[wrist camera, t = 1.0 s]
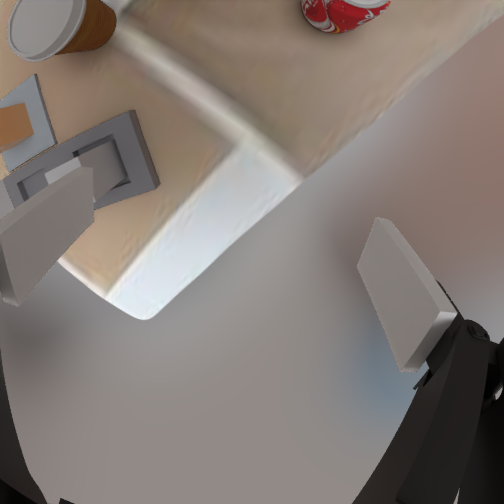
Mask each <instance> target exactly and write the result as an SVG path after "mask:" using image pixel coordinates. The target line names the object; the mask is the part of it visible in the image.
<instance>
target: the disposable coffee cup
mask: <svg viewBox="0 0 504 504" xmlns="http://www.w3.org/2000/svg"><path fill="white" fill-rule="evenodd" d="M115 27H116V16H115V13H114V11H113V10H112V9H111V8H110V7H108V6H107V5H106V4H105V3H103V2H102V1H101V0H18V1H17V2H16V4H15V6H14V8H13V10H12V12H11V15H10V17H9V21H8V26H7V39H8V44H9V46H10V48H11V50H12V51H13V52H14V53H15V54H16V55H18V56H19V57H21V58H22V59H23V60H26V61H29V62H37V61H42V60H45V59H47V58H49V57H51V56H53V55H59V54H65V53H71V52H78V51H86V50H93V49H96V48H99V47H100V46H102V45H103V44H105V43H106V42H107V41H108V40H109V39H110V37H111V36H112V34H113V32H114V30H115Z"/></svg>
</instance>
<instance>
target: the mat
mask: <svg viewBox="0 0 504 504" xmlns="http://www.w3.org/2000/svg"><path fill="white" fill-rule="evenodd" d="M21 103H25V105H26V109H27V112H28V116H29V119H30V122H31V125H32V128H33V131H34V134H32V135H31V136H29V137H28V138H26V139H25V140H23V141H22V142H21V143H19V144H18V145H16V146H15V147H13V148H11V149H9V150H6V151H4V152H2V155H3V158H4V161H5V164H6V166H7V169H8V172H11V171H12V170H14V169H15V168H17V167H18V166H20V165H21V164H23V163H25V162H26V161H28V160H29V159H31V158H33V157H34V156H36V155H38V154H39V153H41V152H43V151H44V150H46V149H48V148H49V147H51V146H53V145H55V144H57V140H56V138H55V135H54V132H53V129H52V126H51V123H50V119H49V116H48V113H47V110H46V107H45V103H44V100H43V96H42V93H41V89H40V86H39V82H38V78H37V74H34V75H32V76H31V77H29V78H28V79H27V80H25V81H24V82H23V83H21V84H20V85H19V86H18V87H16V88H15V89H14V90H13V91H11V92H10V93H9V94H8V95H6V96H5V97H4V98H3V99H2V100H0V108H4V107H8V106H12V105H16V104H21Z"/></svg>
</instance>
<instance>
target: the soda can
mask: <svg viewBox="0 0 504 504" xmlns="http://www.w3.org/2000/svg"><path fill="white" fill-rule="evenodd" d="M390 2H391V0H302V1H301V7H302V11H303V13H304V16H305V17H306V19H307V20H308V21H309V22H310V23H311V24H312V25H313V26H315V27H316V28H318V29H320V30H322V31H325V32H329V33H342V32H347V31H350V30H353V29H355V28H357V27H359V26H361V25H362V24H364V23H366V22H368V21H370V20H372V19H374V18H375V17H377V16H378V15H380V14H381V13H383V12H384V11H385V10H386V9H387V7H388V6H389V4H390Z"/></svg>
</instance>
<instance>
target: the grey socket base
mask: <svg viewBox="0 0 504 504" xmlns="http://www.w3.org/2000/svg"><path fill="white" fill-rule="evenodd" d="M78 167H90V168H93V205H94V210H96V209H99V208H101V207H104V206H107V205H110V204H113V203H115V202H118V201H121V200H124V199H127V198H130V197H133V196H136V195H139V194H142V193H145V192H148V191H151V190H155V189H156V188H157V187H158V186H159V185H160V182H159V179H158V176H157V174H156V171H155V168H154V165H153V162H152V160H151V157H150V154H149V151H148V148H147V145H146V143H145V140H144V137H143V134H142V131H141V128H140V125H139V122H138V119H137V116H136V113H135V110H132V111H128V112H126V113H123V114H121V115H119V116H117V117H114V118H112V119H110V120H108V121H106V122H103V123H101V124H99V125H97V126H95V127H93V128H91V129H89V130H87V131H85V132H83V133H81V134H79V135H77V136H75V137H73V138H71V139H69V140H67V141H65V142H64V143H62V144H60V145H58V146H56V147H55V148H53V149H51V150H49V151H47V152H46V153H44V154H42V155H41V156H39V157H37V158H36V159H34V160H32V161H31V162H29V163H27V164H26V165H24V166H23V167H21V168H19V169H18V170H16V171H15V172H13V173H12V174H10V175H9V176H7V177H6V178H4V179H3V182H4V184H5V187H6V189H7V192H8V194H9V197H10V199H11V201H12V204H13V206H14V208H16V207H18V206H19V205H21V204H22V203H23V202H25V201H26V200H28V199H29V198H31V197H32V196H34V195H35V194H37V193H38V192H40V191H41V190H43V189H44V188H46V187H47V186H49V185H50V184H52V183H53V182H55V181H57V180H58V179H60V178H61V177H63V176H65V175H66V174H68V173H69V172H71V171H73V170H74V169H76V168H78Z"/></svg>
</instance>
